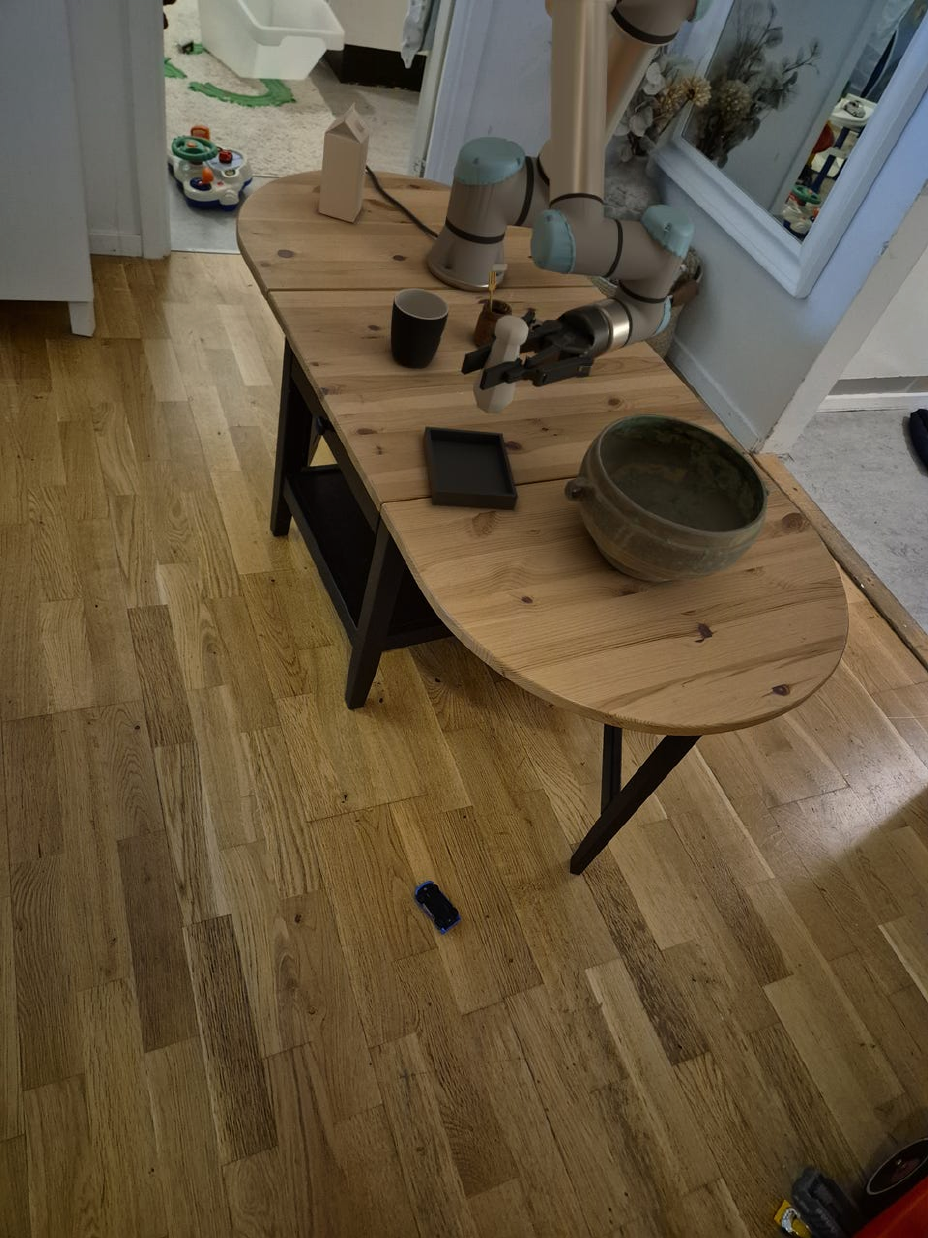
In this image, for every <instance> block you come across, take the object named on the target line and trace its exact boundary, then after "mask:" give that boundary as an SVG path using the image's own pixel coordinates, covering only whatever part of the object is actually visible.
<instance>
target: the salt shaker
mask: <svg viewBox="0 0 928 1238" xmlns="http://www.w3.org/2000/svg"><path fill="white" fill-rule="evenodd" d="M528 329H529V328H528V326H527V324H526V323H525V322H524V321H523V320H522V319H521V317H518V316H517V315H516V316H515V315H512V316H511V315H508V316H503V317H501V318H500V319H498V321H497V323H496V327H495V336H496V340H495V342H494V344H493V346H492V351H491V353H490V355H489V357H488V359H487V361H486V363H485V365H484V368H483V369H480V370H479V372H478V374H477V376H476V378H475V380H474V381H473V382H474V383H473V386H472V392H473V395H474V399H475V403H476V408H478V409H479V410H480V411H483V412H484V413H485V414H490V415H492V414H494V415H495V414H498V415H499V414H501V413H502V411H503V410H504V409H506V408H507V406H509V405H510V404H511V403H512V402H513V400H514V397H515V392H516V391H515V390H516V383H517V382H514V383H512V384H507V383H502V384H499V385H497V386H494V387H491V388H488V389H486V390H482V389H480V388H479V386H480V382H481V378H482V375H483V371H484V369H487V368H490V367H493V366H496V365H499V364H501V363H504V362H507V361H515V360H516V359H517V358H520V354H519V351H520V345H522V344H523V343H524V342H525V341H526V338H527V335H528Z"/></svg>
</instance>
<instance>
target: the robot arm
mask: <svg viewBox="0 0 928 1238" xmlns="http://www.w3.org/2000/svg"><path fill="white" fill-rule="evenodd" d="M714 1H715V0H544V9H545V13H546V14H547V15H548V17H549V18H550V19H551V67H550V68H551V71H550V74H551V76H550V77H551V79H550V136H549V137H550V138H549V139H548V140H547V141H545V142H544V144H543V145H542V146H541V149H540V150H539V153H538V155H537V157H536V156H530V155H526V153H525V150H524V148H523V147H522V146H521V145H520V144H518V143H517V142H514V141H512V140H507V139H506V138H502V137H495V136H483V137H477V138H473V139H471V140H469V141H468V142H466V143H464V144H463V145H462V147H461V148H460V150H459V153H458V157H457V159H456V164H455V167H454V169H453V178H452V183H451V188H450V189H451V190H450V194H449V200H448V204H447V210H446V216H445V220H444V224H443V226H442V228H441V230H440V232H439V234H437V233H436V232H435V231H433V230H432V229H430V228H428V227H427V225H425V224H424V223H423V222H421V221H420V220H419V219H418V218H416V216H414V214H412V212H411V211H410V210H408V209H407V208H406V207H405V206H404V205H403V204H402V203H400V202H399V201H397V200H396V199H394V197H392V196H391V195H390V194H388V193H387V192H386V191H384V189H383V188H382V187H381V185H380V184H379V181H378V179H377V176H376V175H375V173H374V171H372V169H371V168H370V167H369V165H368V164H366V171H367V172H368V174H369V175H370V176H371V179H372V181H373V183H374V185H375V187H376V189H377V191H379V192H380V194H381V195H382V196H384V197H385V198H386V199H387V200H389V201H390V202H391V203H393V205H395V206H397V207H398V208H399V209H400V210H401V211H403V212H404V213H405V214H406V215H407V216H408V217H409V218H410V219H411V220H413V222H415V224H417V225H418V226H419V227H420V228H421V230H423V231H425V232H426V233H428V234H429V235H431V236H432V237H434V238H435V241H434V243H433V244H432V246H431V248H430V250H429V253H428V258H427V267H428V269H429V270H430V272H431V274H433V276H434V277H435V278H437V279H438V280H439V281H441V282H443V283H444V284H446V285H449V286H451V287H453V288H456V289H459V290H464V291H467V292H474V293H475V292H479V293H480V292H482V293H483V292H491V291H490V290H488V285H489V273H490V271H491V278H492V271H494V272H495V270H496V286H495V289H498V288H499V287H500V286H501V285H502V283H503V281H504V278H505V272H506V271H507V268H508V265H509V264H508V263H505V245H504V240H505V236H506V232H507V229H508V227H509V226H510V227H511V226H512V227H519V228H526V229H532V230H531V237H530V244H529V245H530V248H529V249H530V256H531V257H530V258H531V260H532V262H533V264H534V265H535V266H536V268H538V269H540V270H545V271H548V272H554V273H559V274H562V275H569V274H570V275H579V276H589V277H590V276H591V277H600V278H607V279H613V280H618V283H617V286H616V288H615V291H614V293H613V295H612V296H609V297H606V298H603V299H600V300H596V301H593V302H589V303H587V304H584V305H581V306H579V307H578V306H577V307H575V308H572V309H568V310H566V311H565V312H563V313H562V314H561V315H559V316H558V318H556V319H545V320H544V321H543V320H540V319H539V318H536V312H535V311H533V310H527V312H526V313H525V314H524V315H523V316H521V317H520V318H521V319H522V320H523V321H524V322H525V323H526V324H527V326H528V328H529V329H528V335H527V338H526V341H525V342H524V343H523V344H522V345H520V351H519V355H522V354H526V353H532V352H533V354H534V355H532V356H531V357H530V356H529V355H526V356H525V358H524V360H523V359H522V358H520V357H519V358H517V359H516V360H515V361H507V362H504V363H501V364H499V365H496V366H493V367H490V368H487V369H484V371H483V375H482V378H481V382H480V386H479V388H480V389H482V390H486V389H488V388H491V387H494V386H497V385H499V384H502V383H507V384H512V383H514V382H516V383H517V382H519V381H525V382H527V381H528V380H529V381H530V382H531V385H532V386H533V387H535V388H541V387H544V386H547V385H548V386H549V385H552V384H555V383H559V382H561V381H565V380H569V379H573V378H575V377H577V378H588V377H589V376H590V373H591V371H592V368H593V366H594V363H595V359H597V358H599V357H603V356H604V355H608V354H609V353H613V352H615V351H618V350H620V349H624V348H626V347H629V346H631V345H634V344H637V343H643V342H645V341H648V340H649V339H651V338H652V337H654V336H656V335H658V334H660V333H662V332H663V330H665V328H666V327H667V325H668V324H669V322H670V320H671V307H672V305H671V300H670V298H669V296H668V295H669V292H670V289H671V288H672V285H673V283H674V281H675V278H676V276H677V275H678V273H679V271H680V268H681V266H682V265H683V262H684V260H685V259H686V257H687V254H688V251H689V249H690V245H691V243H692V240H693V237H694V233H695V224H694V222H693V220H692V219H691V217H689V216H688V215H687V214H686V213H685V212H683V211H681V210H679V209H677V208H675V207H672V206H669V205H665V204H657V205H650V206H648V208H646V210H645V212H644V214H643V215H642V216H641V217H640V221H634V220H625V219H618V218H609V217H605V208H604V207H605V206H604V204H605V202H604V200H605V199H604V198H605V164H606V162H605V161H606V149H607V147H608V145H609V142H610V141H611V139H612V137H613V135H614V133H615V131H616V129H617V128H618V126H619V123H620V122H621V120H622V118H623V115H624V114H625V112H626V110H627V108H628V106H629V104H630V102H631V101H632V99H633V97H634V95H635V93H636V91H637V89H638V87H639V86H640V84H641V81H642V80H643V78H644V76H645V74H646V73H647V70H648V69H649V67H650V66H651V63H652V61H653V60H654V57H655V55H656V54H657V51H658V50H659V48H660V47H664V46H667V45H669V44H670V43H673V42H674V40H675V38H676V37H677V35H678V33H679V32H680V30H681V28H682V26H683V24H684V22H686V21H687V22H688V23H691V24H693V23H694V22H695V23H697V22H699V21H701V20H703V19H704V18H705V17H706V16H707V15H708V13H709V11H710V10H711V8H712V6H713V4H714ZM493 283H494V276H493ZM495 289H494V290H495ZM495 340H496V336H495V329H492V330H491V334H490V338H489V341H488V344H486V345H482V346H478V347H477V349H475V350H473V351H470V352H467V353H464V357H463V361H462V366H461V368H460V369H461V370H460V373H462V374H463V375H464V376H466V375H468V374H472V373H475V372H478V371H480V370H481V369H483V368H484V365H485V363H486V361H487V359H488V357H489V355H490V353H491V351H492V346H493V344H494V342H495Z"/></svg>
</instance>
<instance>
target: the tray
mask: <svg viewBox="0 0 928 1238" xmlns="http://www.w3.org/2000/svg"><path fill="white" fill-rule="evenodd" d="M423 432H424V433H423V435H422V436H423V437H422V443H423V452H424V458H425V464H426V470H427V471H426V472H427V477H428V482H429V489H430V496H431V502H432V505H434V506H435V505H436V506H450V507H467V508H483V509H497V510H511V511H513V510H514V509H515V506H516V504H517V501H518V498H519V495H518V490H517V488H516V482H515V479H514V475H513V470H512V467H511V463H510V459H509V458H510V457H509V455H508V454H509V453H508V450H507V446H506V442H505V439H504V435H503V433H502V432H492V431H491V432H490V431H481V430H467V429H456V428H447V427H446V428H445V427H437V426H436V427H435V426H425V428H424V431H423Z"/></svg>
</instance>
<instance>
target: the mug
mask: <svg viewBox="0 0 928 1238" xmlns="http://www.w3.org/2000/svg"><path fill="white" fill-rule="evenodd" d="M448 316H449V304H448V303H447V301H446V300H445V299H444V298H443V297H442V296H441V295H438V294H437V293H435V292H433V291H430V290H427V289H423V288H414V287H412V288H405V289H402V290H399V291H398V292H396V293H395V295H394V298H393V302H392V309H391V319H390V350H391V353H392V356H393V358H394V359H395V361H396V362H397V363H398V364H400V365H401V366H403V367H406V368H408V369H409V368H410V369H423V368H426V367H427V366H428V365H430V364H431V362H432V361H433V359H434V358H435V356H436V354H437V352H438V349H439V347H440V343H441V341H442V337H443V334H444V331H445V328H446V324H447V322H448V321H447V320H448Z"/></svg>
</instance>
